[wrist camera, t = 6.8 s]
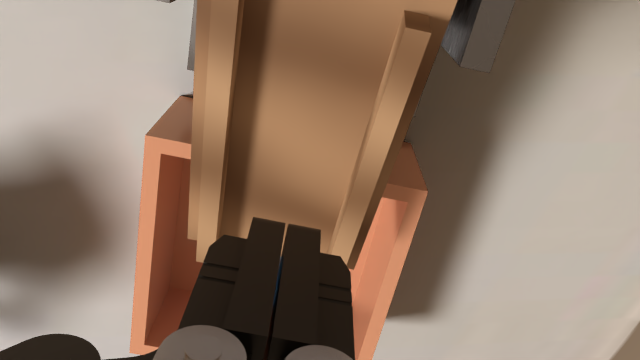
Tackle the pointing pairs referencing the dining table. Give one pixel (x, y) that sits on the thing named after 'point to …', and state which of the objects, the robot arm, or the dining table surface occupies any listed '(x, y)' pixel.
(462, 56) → the lever stand
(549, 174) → the dining table surface
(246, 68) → the lever
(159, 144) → the cup
